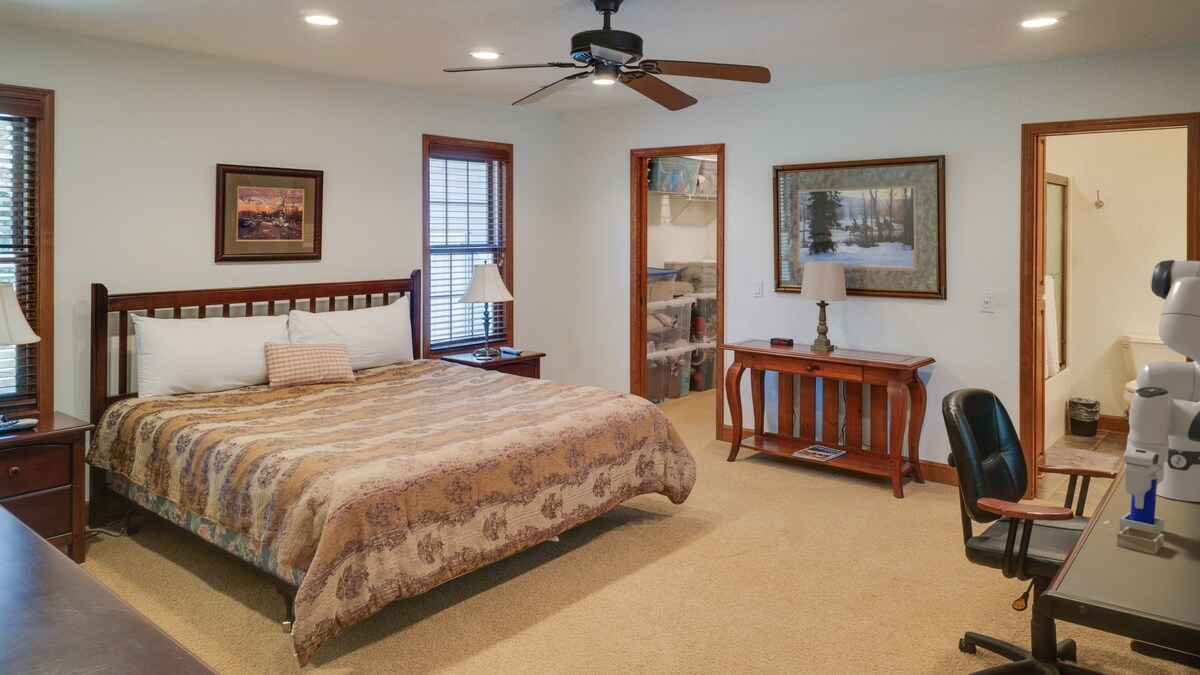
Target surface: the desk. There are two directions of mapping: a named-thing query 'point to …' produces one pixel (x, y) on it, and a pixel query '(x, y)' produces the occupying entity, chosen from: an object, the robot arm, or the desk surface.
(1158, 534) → the bin oak
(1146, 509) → the beverage can
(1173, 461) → the robot arm
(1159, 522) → the bin sage
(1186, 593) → the desk surface
